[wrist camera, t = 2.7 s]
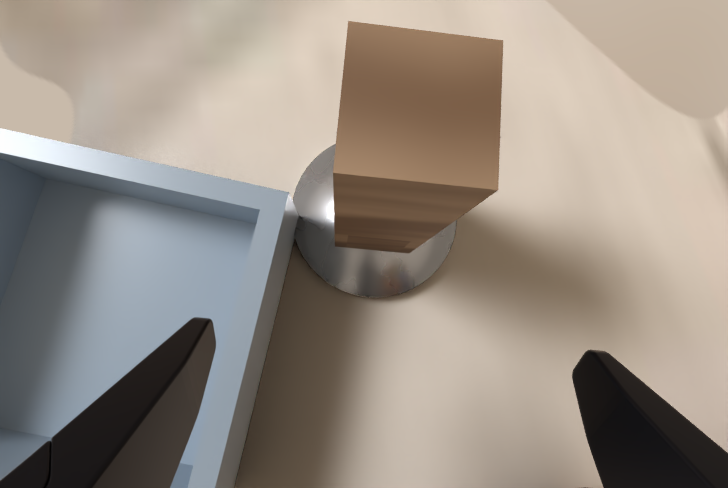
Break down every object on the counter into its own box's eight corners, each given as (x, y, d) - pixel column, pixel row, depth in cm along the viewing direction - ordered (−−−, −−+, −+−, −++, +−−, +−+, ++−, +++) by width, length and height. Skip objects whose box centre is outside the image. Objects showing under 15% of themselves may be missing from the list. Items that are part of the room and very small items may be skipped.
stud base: (438, 312, 22) (455, 314, 19) (275, 278, 21) (264, 273, 18) (465, 158, 23) (485, 136, 20) (313, 124, 23) (309, 95, 20)
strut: (408, 253, 22) (497, 189, 10) (334, 246, 21) (332, 172, 9) (414, 182, 22) (502, 40, 10) (342, 174, 22) (348, 21, 10)
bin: (233, 488, 20) (199, 549, 15) (-54, 432, 19) (-188, 476, 14) (299, 217, 22) (289, 192, 17) (44, 161, 22) (-43, 118, 17)
